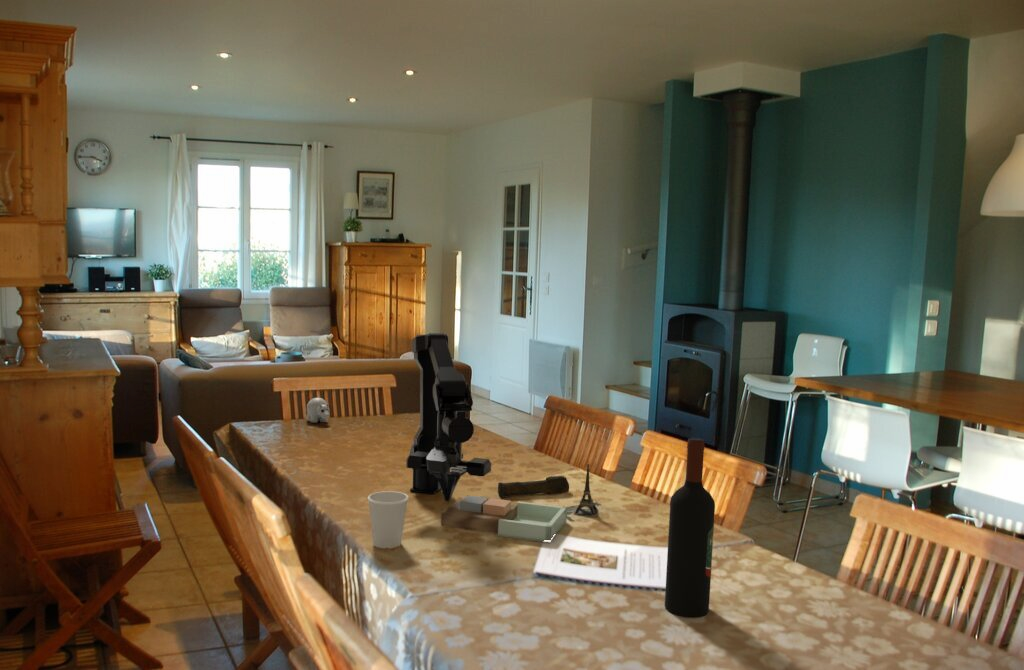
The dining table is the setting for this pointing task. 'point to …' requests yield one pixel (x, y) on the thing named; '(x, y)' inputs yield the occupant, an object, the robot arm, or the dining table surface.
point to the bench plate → (474, 518)
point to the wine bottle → (690, 541)
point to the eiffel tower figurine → (584, 503)
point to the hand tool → (534, 487)
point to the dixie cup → (387, 517)
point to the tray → (533, 522)
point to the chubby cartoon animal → (317, 410)
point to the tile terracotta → (497, 506)
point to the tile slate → (472, 503)
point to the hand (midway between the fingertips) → (447, 500)
